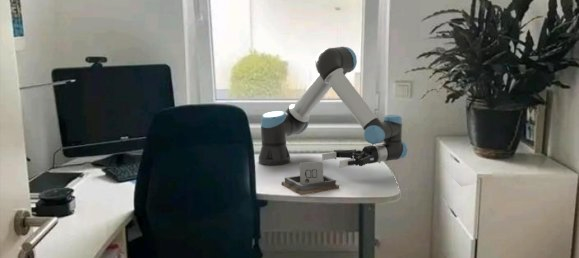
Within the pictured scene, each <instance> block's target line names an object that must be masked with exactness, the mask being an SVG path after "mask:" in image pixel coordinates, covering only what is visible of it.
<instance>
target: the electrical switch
mask: <svg viewBox="0 0 579 258" xmlns="http://www.w3.org/2000/svg"><path fill="white" fill-rule="evenodd" d="M323 165H324V164H323V162H322V161H307V162H300V163H299V165H298V167H299V175H300V184H302V185H307V184H313V183H319V182H324V180H323V175H324V168H323V167H324V166H323ZM306 180H308V182H306Z"/></svg>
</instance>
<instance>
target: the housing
mask: <svg viewBox="0 0 579 258" xmlns="http://www.w3.org/2000/svg"><path fill="white" fill-rule="evenodd" d="M323 180H324V182H319V183H313V184H307V185H302V184H300V174H299V175H295V176H289V177H288V176H287V177H286V176H285V177H284V181H281V185H282V186H284V187H286V188H287V189H289V190H292V191H293V192H295V193H297V194H299V195H301V196H303V195H310V194H315V193H320V192H327V191H331V190H337V189H340V185H339V184H337V181H336V180H335V179H333V178H331V177H329V176H326V175H324V174H323ZM306 182H308V180H306Z"/></svg>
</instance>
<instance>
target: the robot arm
mask: <svg viewBox="0 0 579 258" xmlns="http://www.w3.org/2000/svg"><path fill="white" fill-rule="evenodd" d="M357 61H358V60H357V55H356V53H355V51H354V50H353V49H352V48H350V47H347V46H335V47H326V48H324V49H322V50H320V52H319V53H318V54H317V56H316V58H315V68H316V71H317V74H316V76H314V78H313V80H311V82H310V84H309V85H308V86H307V87H306V89H305V90H304V92H303V93H302V95H300V96H299V98H298V100H297V101H296V102H295V103H291V104H290V105H289V106H288V108H287V109H286V110H285V111H281V110H275V111H268V112H265V113H263V114H262V115H261V118H260V132H261V133H260V134H261V135H260V136H261V146H260V147H261V148H260V151H259V153H258V154H259V155H258V163H259V164H260V165H265V166H267V165H268V166H281V165H286V164H288V163H290V162H291V155H290V152H289V149H288V146H287V138H288V137H292V136H296V135H300V134H302V133H303V132H305V131H306V130H307V128H308V126H309V121H310V117H311V116H310V115H311V114H312V112H313V111H314V109H315V108H316V107H317V105H318V104H319V103H320V102H321V101H322V100H323V98H324V97H325V95H326V94H327V93H329V90H330V89H332V90H333V91H334V93H335V94H336V95H337V96H338V98H339V99H340V100H341V101H342V103H343V104H344V106H345V107H346V108H347V109H348V111H349V113H351V115H352V117H354V119H355V120H356V121H357V122H358V124H359V125H360V127H361V128H362V130H363V131H364V132H363V136H364V139H365V141H366V142H367V143H369V144H370V145H365V146H363V148H362V150H360V149H359V150H357V149H355V148H354V149H340V150H339V149H334V150H333V151H331V152H324V153H322V154H321V156H322V158H321V160H322V161H327V160H333V159H334V160H337V158H339V159H340V158H341V159H340V160H339V168H346V167H352V166H358V167H363V166H366V165H368V164H369V165H370V164H375V163H379V164H381V162H387V161H397V160H401V159H404V158H405V157H406V156H407V155H408V148H407V144H406V143H405V142H404V141H402V136H403V133H402V131H403V120H402V119H403V118H402V116H401V115H399V114H386V115H384V117H383V122H381V119H379V118H378V116H377V115H376V114H375V112H373V110H372V108H370V106H369V105H368V104H367V102H366V101H365V100H364V98H363V97H362V96H361V94H360V93H359V92H358V90H357V89H356V87H354V85H353V84H352V83H351V81H350V80H349V79H348V78H347V76H346V75H347V74H348V73H351V72H353V71H354V70H355V69H356V67H357V63H358V62H357ZM382 142H383V143H382Z"/></svg>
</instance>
